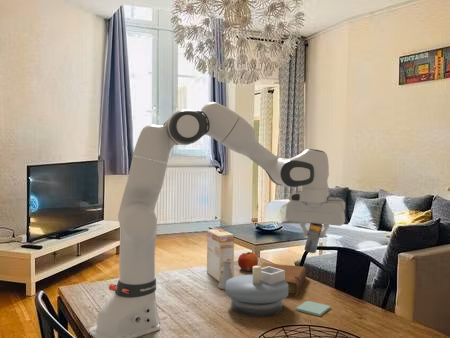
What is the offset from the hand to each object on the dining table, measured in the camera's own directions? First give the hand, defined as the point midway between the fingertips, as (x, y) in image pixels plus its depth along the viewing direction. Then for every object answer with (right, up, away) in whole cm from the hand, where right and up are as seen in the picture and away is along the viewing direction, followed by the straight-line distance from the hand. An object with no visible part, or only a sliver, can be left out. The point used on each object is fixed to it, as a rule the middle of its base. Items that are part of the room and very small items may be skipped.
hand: (314, 236), depth 153 cm
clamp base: (-20, -26, +3) cm, 33 cm away
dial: (-20, -20, +3) cm, 28 cm away
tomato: (-20, -23, +50) cm, 59 cm away
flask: (-30, -25, +25) cm, 46 cm away
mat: (0, -26, +2) cm, 26 cm away
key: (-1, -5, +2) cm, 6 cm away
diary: (-9, -25, +29) cm, 39 cm away
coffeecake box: (-33, -24, +39) cm, 57 cm away
